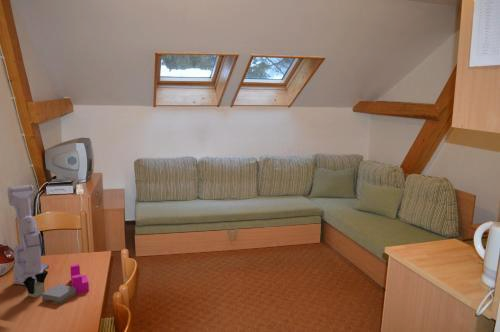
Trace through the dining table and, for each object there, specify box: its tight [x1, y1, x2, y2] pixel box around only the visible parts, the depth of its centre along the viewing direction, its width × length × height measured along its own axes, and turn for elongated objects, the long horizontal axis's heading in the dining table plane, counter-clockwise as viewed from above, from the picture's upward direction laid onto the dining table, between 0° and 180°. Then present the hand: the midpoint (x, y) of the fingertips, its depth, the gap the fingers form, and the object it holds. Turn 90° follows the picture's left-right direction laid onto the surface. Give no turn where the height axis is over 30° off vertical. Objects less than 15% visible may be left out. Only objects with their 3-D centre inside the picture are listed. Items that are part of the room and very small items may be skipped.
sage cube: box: [26, 281, 45, 298], centre depth 170 cm, size 4×4×4 cm
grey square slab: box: [41, 292, 77, 306], centre depth 167 cm, size 9×9×2 cm
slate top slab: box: [41, 284, 76, 302], centre depth 167 cm, size 9×9×2 cm
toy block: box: [69, 263, 90, 295], centre depth 178 cm, size 15×6×8 cm, turn 27°
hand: (35, 290), depth 170 cm, fingers closed on sage cube, 4 cm apart
